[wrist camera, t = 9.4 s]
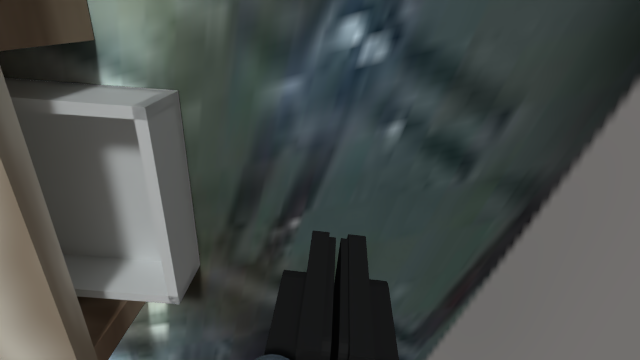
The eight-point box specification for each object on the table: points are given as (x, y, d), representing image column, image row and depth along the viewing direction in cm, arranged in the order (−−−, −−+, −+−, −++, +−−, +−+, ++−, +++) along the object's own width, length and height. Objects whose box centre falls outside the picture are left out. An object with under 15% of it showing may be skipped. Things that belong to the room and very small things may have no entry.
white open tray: (178, 90, 18) (144, 107, 15) (200, 264, 23) (179, 303, 20) (-83, 71, 18) (-171, 83, 15) (0, 249, 23) (-52, 286, 20)
